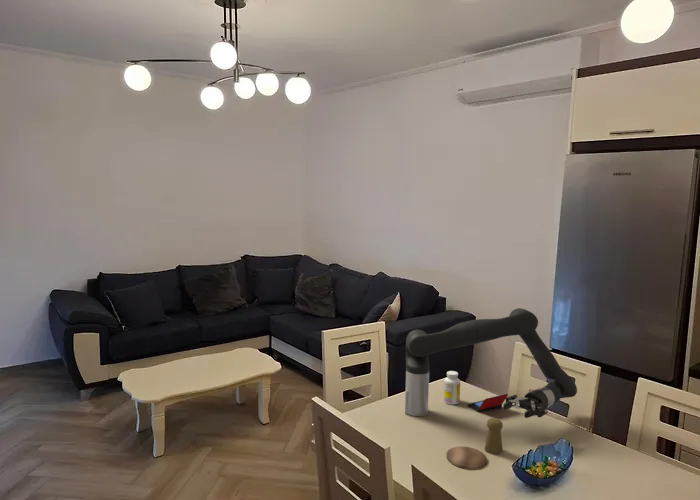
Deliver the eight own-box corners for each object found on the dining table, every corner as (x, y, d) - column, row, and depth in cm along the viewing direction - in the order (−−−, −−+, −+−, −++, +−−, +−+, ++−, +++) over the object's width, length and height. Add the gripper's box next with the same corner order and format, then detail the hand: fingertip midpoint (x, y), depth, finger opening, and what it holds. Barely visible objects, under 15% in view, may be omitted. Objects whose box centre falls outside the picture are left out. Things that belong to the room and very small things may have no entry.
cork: (503, 455, 167) (505, 424, 166) (485, 453, 168) (486, 422, 167) (501, 446, 173) (503, 416, 172) (483, 444, 174) (485, 415, 173)
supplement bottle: (457, 398, 214) (458, 369, 213) (461, 405, 207) (462, 375, 206) (441, 398, 214) (442, 370, 212) (445, 405, 207) (446, 375, 206)
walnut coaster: (448, 467, 159) (448, 465, 159) (445, 447, 172) (445, 445, 172) (489, 470, 158) (489, 468, 158) (483, 450, 171) (483, 447, 171)
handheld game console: (489, 401, 212) (490, 384, 211) (508, 411, 203) (508, 393, 202) (466, 406, 207) (467, 389, 206) (484, 416, 197) (484, 399, 196)
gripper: (523, 384, 191) (497, 394, 181) (558, 395, 180) (533, 407, 170) (522, 402, 192) (497, 414, 182) (557, 415, 181) (532, 428, 171)
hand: (514, 411), depth 176 cm, fingers open, 8 cm apart
